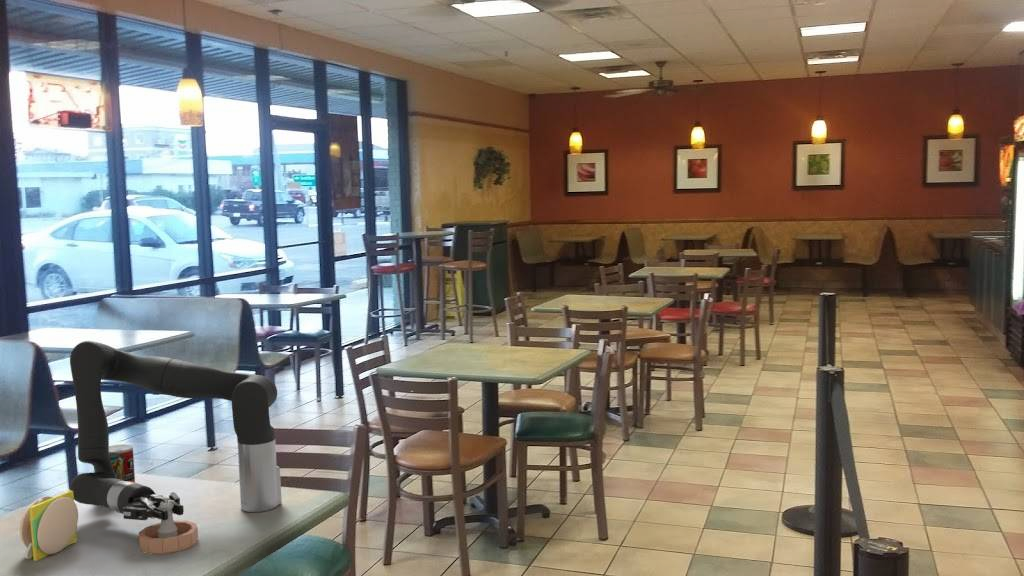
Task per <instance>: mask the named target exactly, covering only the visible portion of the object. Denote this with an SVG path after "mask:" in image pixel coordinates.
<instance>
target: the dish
mask: <svg viewBox="0 0 1024 576" xmlns="http://www.w3.org/2000/svg"><path fill="white" fill-rule="evenodd" d="M173 521H174V524H175V526H176V527H177V529H178V530H177V532H178V534H177V536H175V537H168V538H159V537H158V534H159V533H158V529H159V528H160V527H159V526H160V525H161V522H157V523H154V524H152V525H149V526H146V527H144V528H143V529H141V530H139V532H138V539H139V540H138V542H139V549H141V550H142V551H144V552H146V553H145V554H148V553H152V554H151V555H165V554H167V553H168V554H173V553H172V552H174V553H177V551H178V552H182V551H185V550H187V549H189V548H191V547H193V546H195V545H196V544H197V543H198V541H199V530H198V524H197V523H196V522H193V521H189V520H173ZM141 550H140V551H141ZM181 550H182V551H181ZM142 551H141V552H142ZM144 552H143V553H144ZM168 554H167V555H168Z"/></svg>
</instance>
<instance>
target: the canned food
mask: <svg viewBox="0 0 1024 576" xmlns="http://www.w3.org/2000/svg"><path fill="white" fill-rule="evenodd" d="M109 453H117V454H120V458H121V459H122V460H123V471H124V481H129V482H134V483H136V474H135V457H134V447H133V445H131V444H124V443H123V444H114V445H109Z"/></svg>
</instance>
